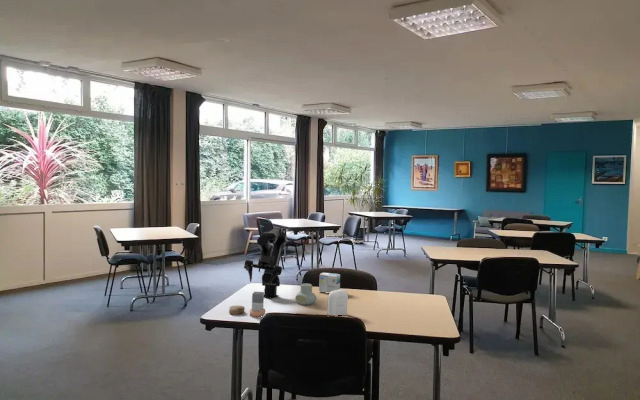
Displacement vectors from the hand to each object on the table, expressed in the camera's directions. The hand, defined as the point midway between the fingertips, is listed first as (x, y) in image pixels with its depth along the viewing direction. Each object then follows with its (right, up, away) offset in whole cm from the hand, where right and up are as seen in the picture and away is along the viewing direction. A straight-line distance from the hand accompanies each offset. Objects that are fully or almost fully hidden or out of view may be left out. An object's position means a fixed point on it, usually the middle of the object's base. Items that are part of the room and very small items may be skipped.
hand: (259, 283), depth 213 cm
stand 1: (-10, -12, -8) cm, 18 cm away
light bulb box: (+35, -12, +36) cm, 52 cm away
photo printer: (+38, -14, -5) cm, 41 cm away
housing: (0, -10, -10) cm, 14 cm away
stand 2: (0, -13, -10) cm, 16 cm away
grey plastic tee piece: (+22, -13, +12) cm, 28 cm away
